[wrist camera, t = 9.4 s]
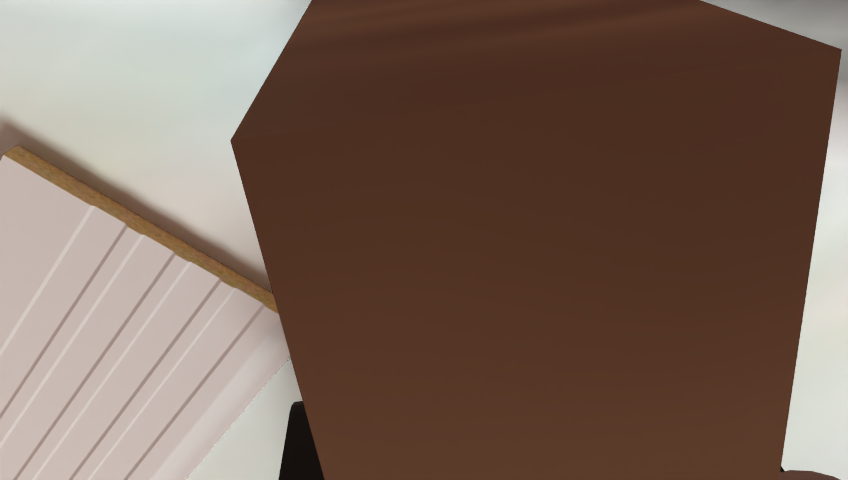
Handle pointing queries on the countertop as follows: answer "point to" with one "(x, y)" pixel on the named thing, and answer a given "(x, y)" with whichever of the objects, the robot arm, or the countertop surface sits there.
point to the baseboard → (116, 337)
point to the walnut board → (540, 234)
